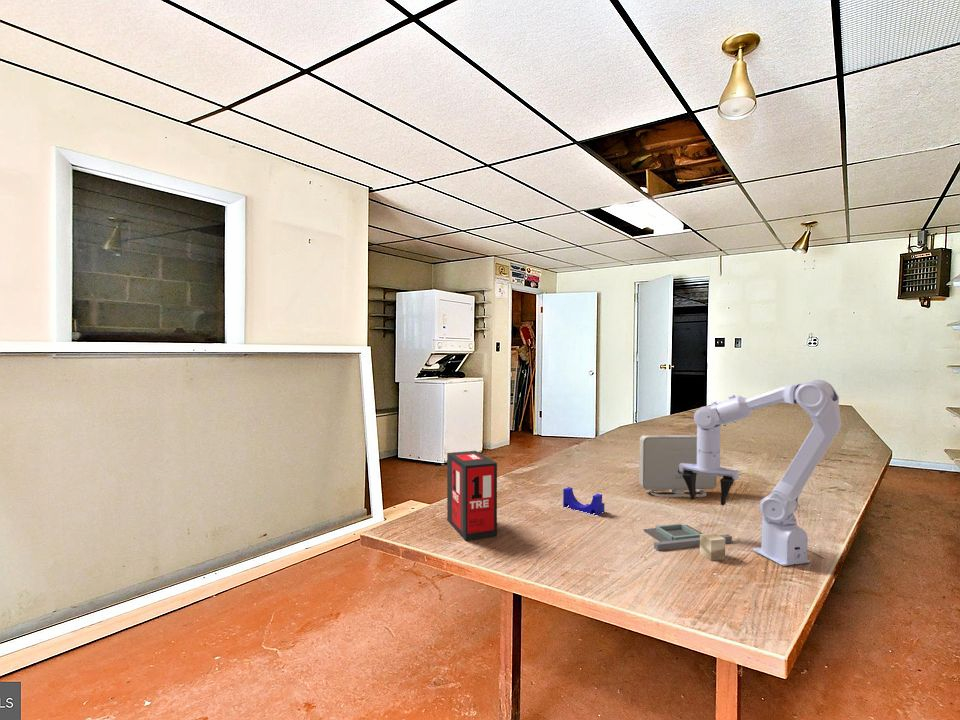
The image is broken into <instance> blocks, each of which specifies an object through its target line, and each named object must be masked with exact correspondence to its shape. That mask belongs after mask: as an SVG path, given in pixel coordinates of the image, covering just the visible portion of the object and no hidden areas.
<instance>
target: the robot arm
mask: <svg viewBox="0 0 960 720" xmlns="http://www.w3.org/2000/svg"><path fill="white" fill-rule="evenodd" d="M780 403H787V404H790V405H796V404H798V405H799V406H800V407H801V408H802V410H804V412H806V413H807V415H808V418H809V419H810V421H811V423H812V425H813V426H812V428H811V429H810V430H809V432H808V434H807V436H806V438H805V439H804V441H803V443H802V444H801V445H800V448H799V449H798V451H797V453H796V454H795V455H794V458H793V459H792V460H791V462H790V464H789V465H788V467H787V469H786V470H785V472H784V474H783V476H782V477H781V479H780V480H779V482H778V483H777V484H776V486H774V488H773V490H772V491H771V492H770V494H768V495H767V496H765V497H763V498H762V499H761V500H760V502H759V506H760V507H759V511H760V514H761V543H760V544H761V546H760V547H753V548H752V551H753V552H755V553H758V554H760V555H761V556H763V557H764V558H766V559H769V560H771V561H773V562H775V563H777V564H779V565H780V566H783V567H787V566H793V565H794V564H795V565H802V564H808V563H810V562H811V560H810V559H808V546H809V545H808V542H809V541H808V539H809V538H808V537H809V536H808V533H807V532H806V531H805V529H803V528H801V527H800V526H799V525H798V523H797V518H796V516H795V514H794V513H795V512H796V511H797V509H798V506H799V505H798V504H799V498H800V495H802V492H803V489H804V487H805V486H806V484H807V482H808V481H809V479H810V477H811V476H812V475H813V473H814V471H815V469H816V468H817V466H818V465H819V463H820V462H821V460H822V459H823V457H824V455H825V454H826V452H827V451H828V449H829V448H830V446H831V444H832V443H833V441H834V440H835V438H836V436H837V435H838V433H839V432H840V430H841V428H842V419H841V418H842V417H841V410H840V396H839V395H838V393H837V391H836V390H835V388H834V387H833V385H832V384H830V382H828V381H825V380H821V379H815V380H812V381H805V382H801V383H795V384H788V385H784V386H781V387H778V388H775V389H771V390H769V391H767V392H763V393H760V394H757V395H755V396H751V397H749V398H746V397H743V396H742V395H741V396H740V395H738V396H736V395H730V396H728V399H726V400H721V401H720V402H716V401H714V402H711V403H710V404H711V405H707V406H701V407H699V408H698V409H697V410H696V411H694V415H693V421H694V424H695V425H696V435H697V464H687V463H681V464H679V471H684V472H683V474H682V476H683V478H684V480H685V482H686V484H687V487H688V490H687V491H688V494H690V497H689V498H690V500H692V501H693V500H695V499H696V498H697V497H696V494H697V493H696V487H695V486H696V475H697V473H700V474H707V475H713V476H716V477H721V479H719V480H720V481H719V482H720V492H721V493H720V494H721V495H720V505H721V506H726V504H727V498H728V495H729V493H730V490H731V487H732V486H733V483H734V482H735V481H737V480H738V479H739V478H740V476H739V475H740V471H739V470H735V469H730V468H725V467H722V466H721V425H726V424H729V423H733V422H736V421H739V420H743V419H747V418H749V417H750V416H751V413H752V412H753V411H754V410H758V409H762V408H765V407H769V406H772V405H776V404H780Z"/></svg>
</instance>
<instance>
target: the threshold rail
mask: <svg viewBox="0 0 960 720" xmlns="http://www.w3.org/2000/svg"><path fill="white" fill-rule="evenodd" d="M718 535H719V536H721V537H723V538H725V544H726V543H728V544H729V543H732V542H733V541H732V540H733V539H732V537H733V536H731V535H730V534H718ZM691 547H692V548H693V547H700V537H699V538H690V539H681V540H671V541H662V542H660V541H655V542H654V544H653V548H654V549H655V550H656V551H658V552H659V551H665V550H674V549H683V548H684V549H685V548H691Z"/></svg>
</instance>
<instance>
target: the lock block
mask: <svg viewBox="0 0 960 720" xmlns="http://www.w3.org/2000/svg"><path fill="white" fill-rule="evenodd" d="M719 535H720V534H717V533H715V532H709V533H708V532H707V533H703V534H700V546H699V555H701V556H702V557H703V558H705V557H706V559H707V560H709V561H711V562H712V561H720V560H726V543H725V538H723V537H721V536H719Z"/></svg>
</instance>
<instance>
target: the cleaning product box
mask: <svg viewBox="0 0 960 720" xmlns="http://www.w3.org/2000/svg"><path fill="white" fill-rule="evenodd" d="M446 457H447V458H446V478H447V479H446V481H447V483H446V485H447V486H446V487H447V489H446V490H447V491H446V492H447V493H446V496H447V498H446V499H447V502H446V503H447V505H446V508H447V509H446V512H447V515H446V516H447V518H446V521H447V522H448V523H449V524H450V525H451V527H452V528H453V529H454V530H455V531H456V532H457V533H458V534H459V535H460V537H461V538H462V539H463V540H464V541H465V542H470V541H476V540H483V539H484V540H485V539H491V538H496V537H498V463H497V461H494V460H493V459H491V458H489V457H487V456H486V455H485V454H482V453H481V452H478V451H477V450H470V451H469V450H468V451H459V452H458V451H455V452H447V453H446Z"/></svg>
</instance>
